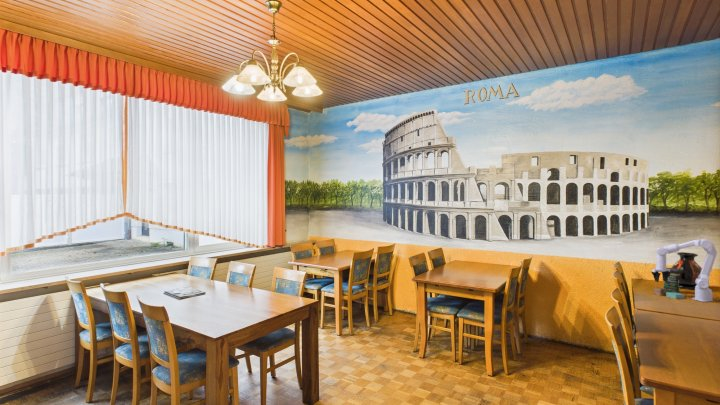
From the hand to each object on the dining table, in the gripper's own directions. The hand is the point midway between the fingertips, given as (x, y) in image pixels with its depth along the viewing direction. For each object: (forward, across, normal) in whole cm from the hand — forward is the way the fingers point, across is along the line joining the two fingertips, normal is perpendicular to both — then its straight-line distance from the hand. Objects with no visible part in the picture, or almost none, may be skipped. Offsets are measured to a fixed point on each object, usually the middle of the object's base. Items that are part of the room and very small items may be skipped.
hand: (660, 281), depth 281 cm
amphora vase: (+11, -45, -14) cm, 48 cm away
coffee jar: (+11, -18, -6) cm, 22 cm away
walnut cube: (+10, -1, -1) cm, 11 cm away
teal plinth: (+10, -4, +7) cm, 13 cm away
